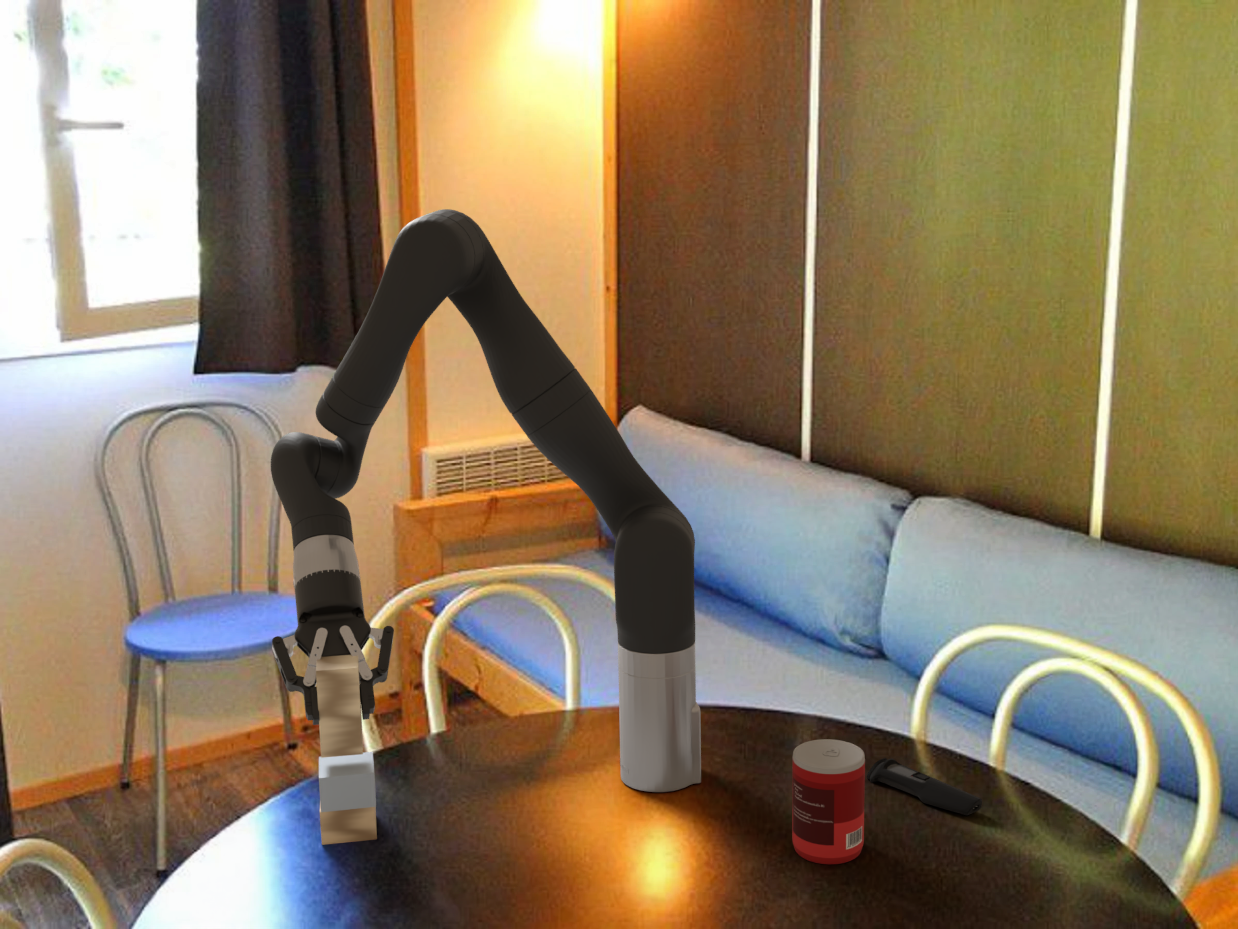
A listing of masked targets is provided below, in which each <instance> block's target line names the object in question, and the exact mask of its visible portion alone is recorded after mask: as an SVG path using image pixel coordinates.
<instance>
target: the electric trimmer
mask: <svg viewBox="0 0 1238 929" xmlns="http://www.w3.org/2000/svg"><path fill="white" fill-rule="evenodd" d="M866 779H868V780H869V782H870V783H871V784H872V783H876V782H880V783H882V784H885V785H888V786H890V787H893V788H894V789H897V790H901V791H903V792H905V793H907V794H910V795H913V796H915V797H918V798H919V800H920V802H921V803H924V804H927V805H930V806H933V807H936V808H940V809H942V810H943V809H944V810H946V811H950V812H954V813H957V814H961V815H965V816H969V815H972V814H973V813H976V812H978V811H980V810H981V808H982V806H983V805H982V804H983V800H982V798H981V797H978V796H976V795H974V794H971V793H969V792H967V791H964V790H962V789H960V788H957V787H955V786H952V785H950V784H949V783H946V782H943V781H941V780H939V779H937V778H935V777H932V776H930V775H927V774H925V773H922V772H921V771H918V770H916V769H913V768H911V767H908V766H905V765H904V764H903V765H902V764H901V763H899V762H898V761H897V760H896V759H894V758H887V757H884V758H881V759H879V760H878V759H877V761H876V762H875V763H874V764H873V765H872V766H871V768H870V769H869V771H868V773H867V774H866Z"/></svg>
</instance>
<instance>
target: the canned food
mask: <svg viewBox="0 0 1238 929" xmlns="http://www.w3.org/2000/svg"><path fill="white" fill-rule="evenodd" d="M791 770H792V771H791V773H792V774H791V777H792V779H791V780H792V783H791V784H792V785H791V788H792V790H791V793H792V794H791V795H792V796H791V797H792V798H791V800H792V803H791V804H792V807H791V809H792V812H791V813H792V814H791V815H792V820H791V822H792V823H791V824H792V826H791V827H792V829H791V830H792V831H791V832H792V834H791V835H792V838H791V839H792V845H793V848H794V850H795V852H796V854H798V856H799V857H801V858H802V859H804V860H805V861H806V860H807V861H809V862H811V863H815V864H821V865H840V864H845V863H848V862H851V861H853V860H855V859H856V858H858V857H859V856H860V854H862V850H863V846H864V844H865V843H864V842H865V798H866V797H865V796H866V794H865V792H866V791H865V789H866V788H865V787H866V759H865V752H864V750H863V749H862V748H861V747H860V746H858V745H856V744H855V743H854V744H853V743H852V742H848V741H844V740H839V739H829V738H828V739H827V738H825V739H824V738H823V739H814V740H809V741H805V742H803V743H801V744H799V745H797V746H796V747H795V748H794V749H793V752H792V768H791Z"/></svg>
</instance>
